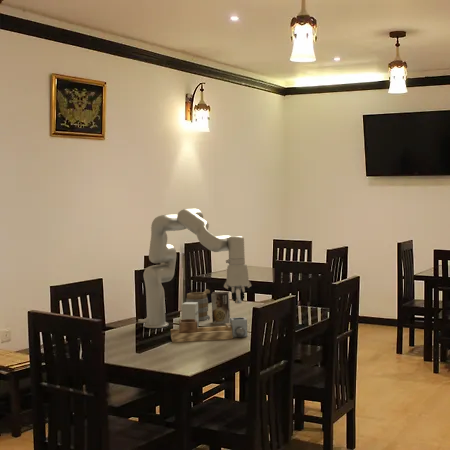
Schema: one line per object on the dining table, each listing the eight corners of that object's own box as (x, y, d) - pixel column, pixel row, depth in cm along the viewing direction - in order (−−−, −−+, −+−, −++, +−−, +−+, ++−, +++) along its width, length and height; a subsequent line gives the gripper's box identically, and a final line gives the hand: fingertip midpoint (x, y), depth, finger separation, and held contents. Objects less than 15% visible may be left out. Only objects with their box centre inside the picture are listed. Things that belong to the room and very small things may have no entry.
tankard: (200, 321, 371) (199, 293, 370) (181, 320, 377) (180, 292, 377) (220, 315, 388) (219, 288, 387) (201, 314, 394) (200, 288, 394)
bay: (172, 342, 320) (171, 330, 320) (170, 336, 333) (170, 325, 333) (232, 338, 324) (232, 327, 323) (228, 333, 337) (228, 322, 336)
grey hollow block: (233, 338, 324) (233, 321, 323) (230, 334, 334) (230, 317, 333) (248, 337, 325) (247, 320, 324) (245, 333, 335) (244, 317, 334)
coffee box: (230, 321, 369) (229, 291, 368) (229, 323, 362) (228, 292, 362) (213, 321, 369) (212, 291, 369) (212, 324, 363) (211, 293, 362)
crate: (180, 338, 322) (180, 323, 322) (179, 334, 332) (178, 319, 331) (197, 337, 323) (197, 322, 323) (196, 333, 333) (195, 318, 332)
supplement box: (195, 329, 350) (194, 304, 350) (181, 328, 352) (180, 304, 351) (199, 326, 358) (198, 301, 357) (185, 326, 359) (184, 301, 359)
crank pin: (235, 303, 328) (234, 286, 328) (234, 302, 331) (233, 285, 331) (242, 303, 329) (241, 286, 328) (241, 302, 332) (240, 285, 331)
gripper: (220, 263, 324) (221, 302, 325) (255, 261, 327) (256, 300, 327) (218, 262, 332) (220, 300, 333) (252, 260, 334) (253, 298, 335)
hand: (238, 300), depth 330 cm, fingers closed on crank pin, 3 cm apart
